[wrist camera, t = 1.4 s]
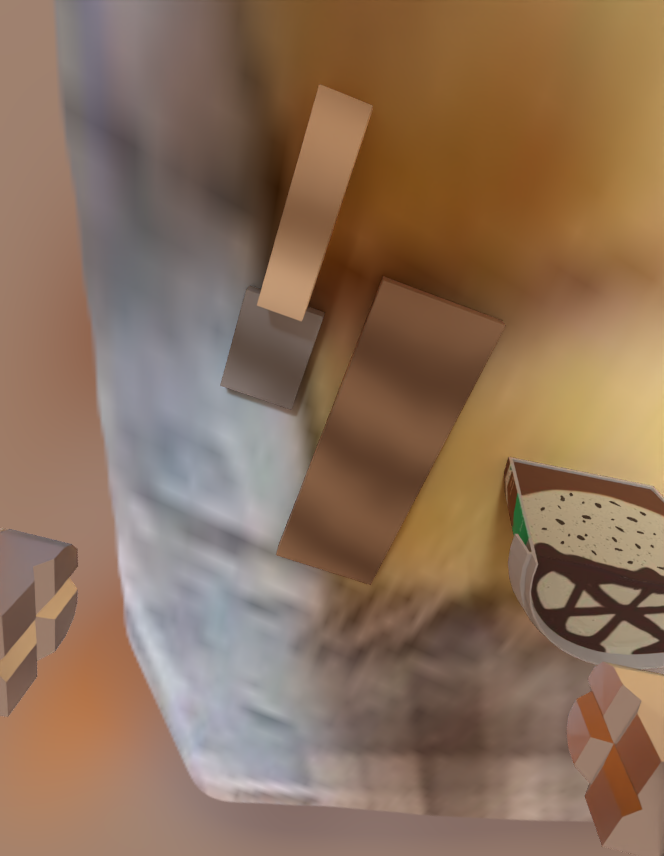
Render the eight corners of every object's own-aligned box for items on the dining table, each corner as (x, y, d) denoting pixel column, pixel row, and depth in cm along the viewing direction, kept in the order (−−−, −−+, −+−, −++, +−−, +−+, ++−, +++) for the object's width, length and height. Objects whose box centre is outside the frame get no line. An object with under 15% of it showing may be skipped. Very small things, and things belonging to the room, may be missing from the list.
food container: (456, 528, 36) (482, 651, 27) (485, 451, 33) (525, 561, 25) (631, 563, 37) (713, 696, 28) (676, 490, 34) (783, 613, 25)
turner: (304, 82, 25) (296, 74, 22) (392, 117, 25) (394, 114, 23) (224, 379, 32) (211, 399, 30) (293, 402, 33) (286, 425, 30)
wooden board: (382, 276, 29) (383, 280, 28) (501, 320, 29) (505, 325, 29) (278, 545, 38) (276, 555, 37) (370, 574, 39) (370, 584, 38)
